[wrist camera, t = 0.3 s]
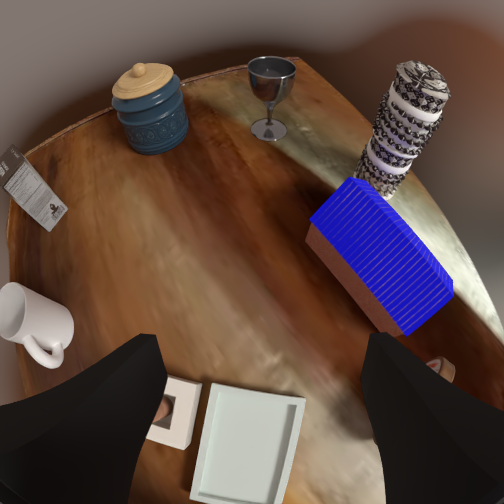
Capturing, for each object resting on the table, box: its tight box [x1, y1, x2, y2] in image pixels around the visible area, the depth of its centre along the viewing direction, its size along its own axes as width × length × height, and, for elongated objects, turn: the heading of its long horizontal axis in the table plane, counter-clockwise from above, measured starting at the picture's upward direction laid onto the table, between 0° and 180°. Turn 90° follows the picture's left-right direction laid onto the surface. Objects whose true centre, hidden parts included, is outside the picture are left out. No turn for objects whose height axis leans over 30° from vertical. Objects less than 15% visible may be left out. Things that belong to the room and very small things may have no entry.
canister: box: [112, 63, 189, 155], centre depth 45 cm, size 13×13×18 cm
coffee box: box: [0, 144, 68, 232], centre depth 39 cm, size 9×6×16 cm
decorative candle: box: [353, 61, 451, 200], centre depth 36 cm, size 9×9×25 cm
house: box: [305, 177, 453, 337], centre depth 36 cm, size 12×20×12 cm, turn 36°
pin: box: [153, 396, 173, 422], centre depth 29 cm, size 3×3×8 cm
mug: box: [0, 282, 74, 369], centre depth 31 cm, size 8×12×12 cm
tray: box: [190, 383, 306, 504], centre depth 30 cm, size 18×12×2 cm, turn 170°
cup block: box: [146, 374, 203, 450], centre depth 32 cm, size 9×9×4 cm
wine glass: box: [248, 56, 296, 141], centre depth 46 cm, size 8×8×15 cm
